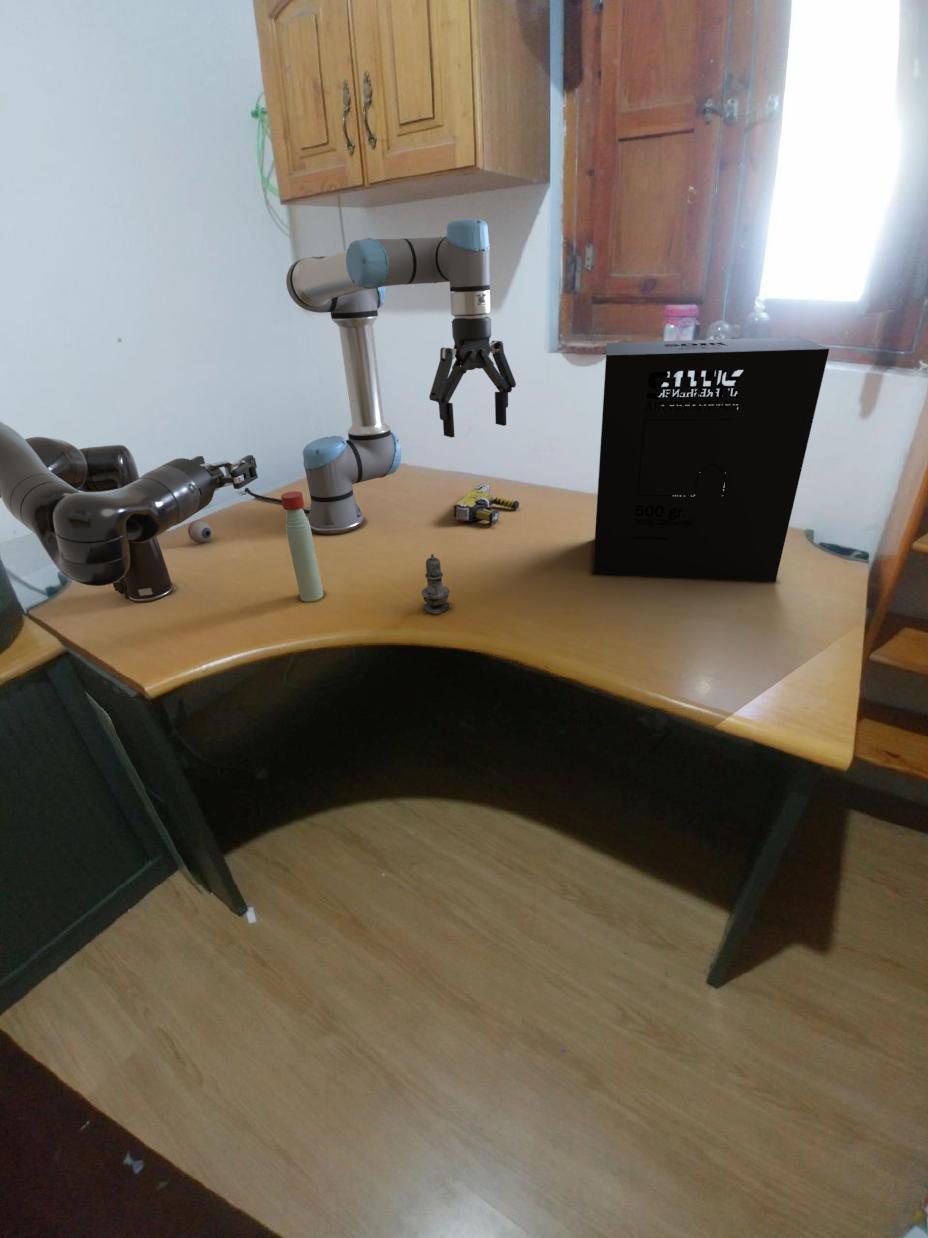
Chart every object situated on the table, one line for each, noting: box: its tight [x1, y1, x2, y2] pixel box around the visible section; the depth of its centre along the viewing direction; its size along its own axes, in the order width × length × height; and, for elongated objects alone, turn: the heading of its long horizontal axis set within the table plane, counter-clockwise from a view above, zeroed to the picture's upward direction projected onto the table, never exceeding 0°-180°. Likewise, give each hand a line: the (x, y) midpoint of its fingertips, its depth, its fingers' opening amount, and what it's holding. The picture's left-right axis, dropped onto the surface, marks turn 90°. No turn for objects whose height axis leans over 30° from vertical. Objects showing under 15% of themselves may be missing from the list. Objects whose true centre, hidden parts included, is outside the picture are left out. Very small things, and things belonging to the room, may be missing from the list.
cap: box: [280, 490, 305, 511], centre depth 121 cm, size 4×4×3 cm
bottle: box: [284, 508, 324, 603], centre depth 127 cm, size 5×5×23 cm
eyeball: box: [187, 519, 213, 544], centre depth 162 cm, size 6×6×6 cm
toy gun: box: [452, 482, 520, 526], centre depth 172 cm, size 5×24×15 cm
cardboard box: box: [592, 336, 830, 583], centre depth 128 cm, size 38×20×45 cm, turn 78°
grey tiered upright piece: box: [420, 553, 451, 614], centre depth 122 cm, size 6×6×12 cm
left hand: (227, 461), depth 97 cm, fingers open, 8 cm apart
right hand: (475, 430), depth 126 cm, fingers open, 13 cm apart
